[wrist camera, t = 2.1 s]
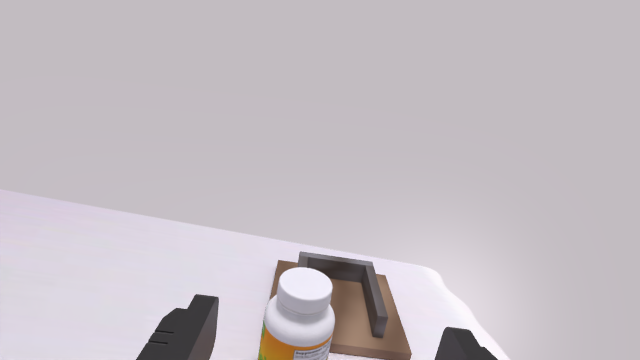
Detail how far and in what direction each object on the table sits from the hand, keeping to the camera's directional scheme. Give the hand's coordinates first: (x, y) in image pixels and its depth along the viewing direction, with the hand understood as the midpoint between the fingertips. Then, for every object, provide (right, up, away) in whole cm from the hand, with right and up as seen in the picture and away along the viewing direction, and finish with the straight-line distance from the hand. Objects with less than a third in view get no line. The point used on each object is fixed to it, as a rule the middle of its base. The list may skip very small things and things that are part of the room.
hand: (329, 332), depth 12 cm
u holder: (+1, -9, +25) cm, 27 cm away
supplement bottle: (-3, -11, +16) cm, 20 cm away
